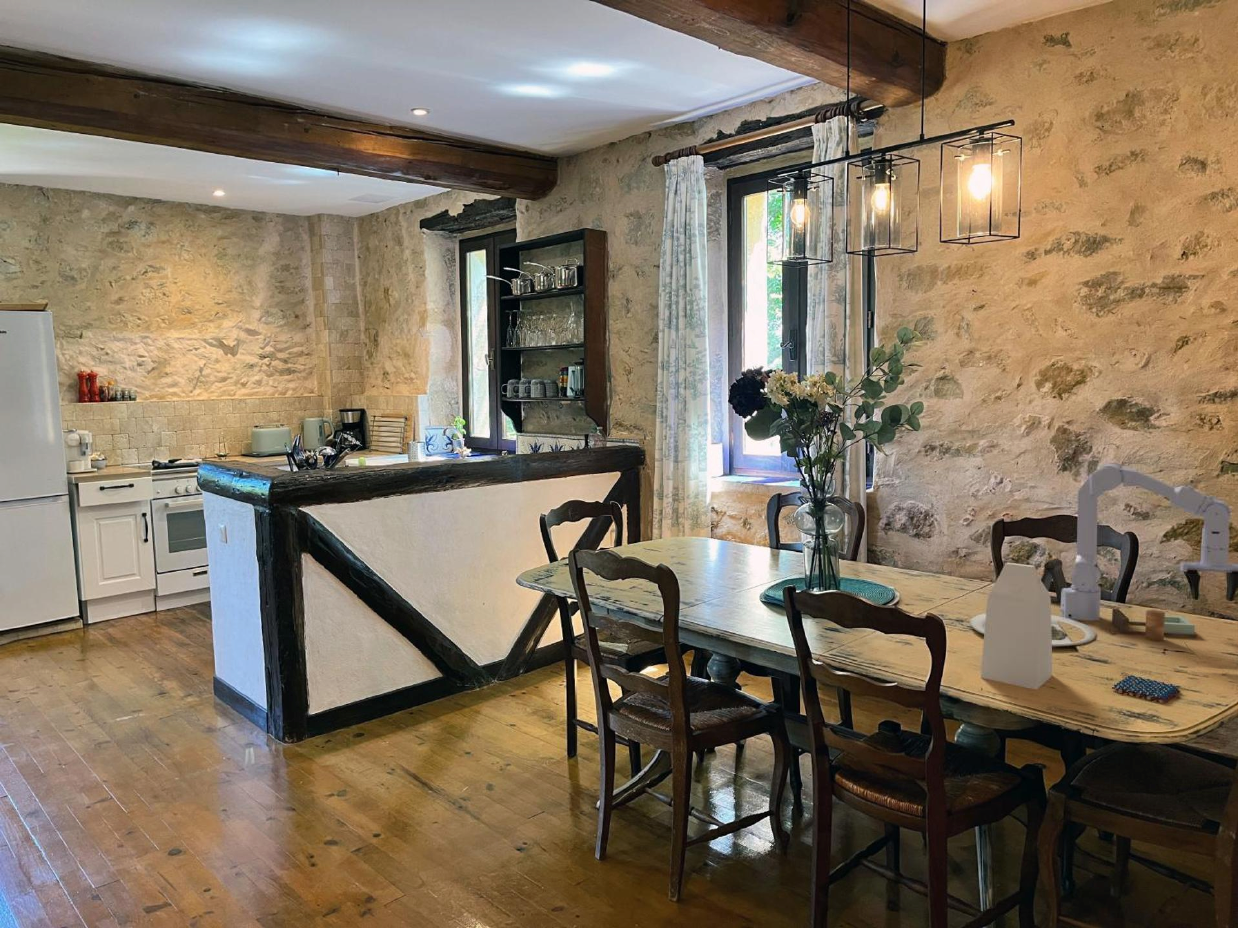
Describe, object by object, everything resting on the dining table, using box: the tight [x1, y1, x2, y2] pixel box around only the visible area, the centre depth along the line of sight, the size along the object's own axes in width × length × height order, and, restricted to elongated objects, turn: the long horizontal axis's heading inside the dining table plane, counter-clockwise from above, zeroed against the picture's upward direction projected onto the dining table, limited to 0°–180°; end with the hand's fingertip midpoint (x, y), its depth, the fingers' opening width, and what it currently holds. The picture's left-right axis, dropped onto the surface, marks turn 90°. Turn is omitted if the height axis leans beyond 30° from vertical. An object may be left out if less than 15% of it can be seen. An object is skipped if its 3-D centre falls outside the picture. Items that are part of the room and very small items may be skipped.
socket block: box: [1164, 615, 1195, 635], centre depth 225 cm, size 8×8×3 cm
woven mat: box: [1111, 674, 1181, 704], centre depth 187 cm, size 10×11×2 cm
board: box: [1111, 608, 1197, 639], centre depth 223 cm, size 17×16×5 cm
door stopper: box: [1040, 558, 1069, 605], centre depth 261 cm, size 9×6×12 cm, turn 42°
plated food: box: [970, 612, 1097, 648], centre depth 229 cm, size 30×30×3 cm
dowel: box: [1144, 609, 1166, 642], centre depth 218 cm, size 4×4×7 cm
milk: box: [980, 562, 1053, 690], centre depth 196 cm, size 12×12×26 cm
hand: (1212, 599), depth 221 cm, fingers open, 7 cm apart
